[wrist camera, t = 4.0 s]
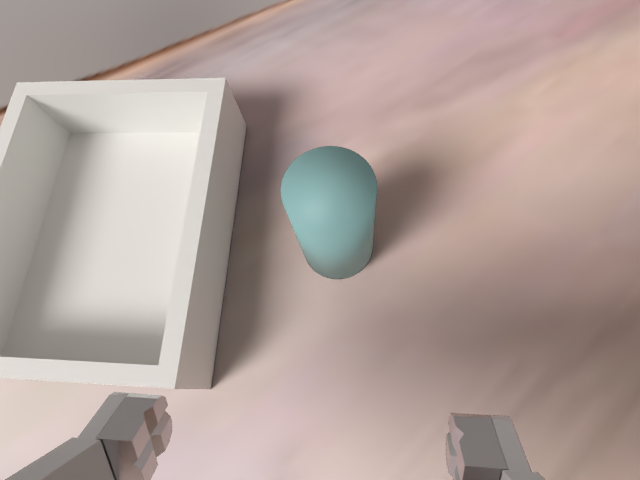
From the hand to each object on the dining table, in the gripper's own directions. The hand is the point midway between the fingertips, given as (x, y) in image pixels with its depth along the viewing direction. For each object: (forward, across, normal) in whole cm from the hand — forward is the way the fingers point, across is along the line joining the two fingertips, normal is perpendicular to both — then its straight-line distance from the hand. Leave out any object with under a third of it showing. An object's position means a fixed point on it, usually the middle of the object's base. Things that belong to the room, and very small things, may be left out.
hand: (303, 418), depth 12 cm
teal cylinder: (+15, 0, +2) cm, 15 cm away
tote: (+15, +14, +2) cm, 21 cm away
